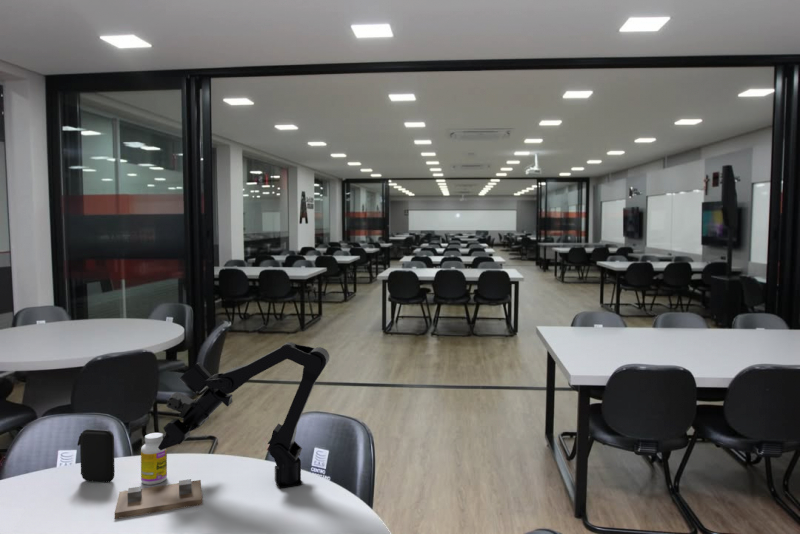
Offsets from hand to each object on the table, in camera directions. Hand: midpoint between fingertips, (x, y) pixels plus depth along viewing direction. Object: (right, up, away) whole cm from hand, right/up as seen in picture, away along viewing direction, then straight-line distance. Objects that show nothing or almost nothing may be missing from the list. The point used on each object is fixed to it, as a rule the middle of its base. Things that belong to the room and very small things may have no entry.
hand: (166, 442), depth 152 cm
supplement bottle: (-4, -11, +1) cm, 12 cm away
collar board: (+3, -11, -12) cm, 17 cm away
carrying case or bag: (-20, -11, 0) cm, 22 cm away
